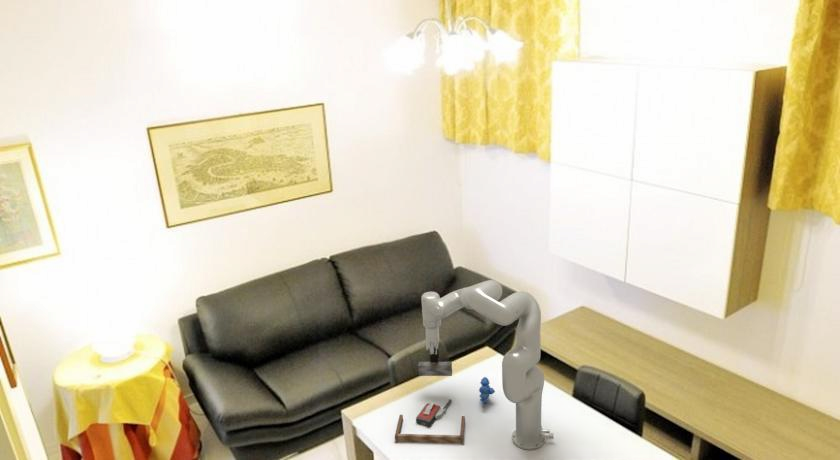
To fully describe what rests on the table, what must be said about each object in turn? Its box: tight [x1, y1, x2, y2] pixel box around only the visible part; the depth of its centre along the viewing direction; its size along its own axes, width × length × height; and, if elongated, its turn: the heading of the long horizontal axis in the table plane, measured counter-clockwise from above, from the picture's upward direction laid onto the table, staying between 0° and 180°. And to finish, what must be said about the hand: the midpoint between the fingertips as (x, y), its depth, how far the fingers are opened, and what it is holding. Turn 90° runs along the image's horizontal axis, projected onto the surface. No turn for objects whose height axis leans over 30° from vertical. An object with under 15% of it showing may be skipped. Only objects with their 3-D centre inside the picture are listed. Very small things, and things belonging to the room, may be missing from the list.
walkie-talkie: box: [415, 399, 452, 428], centre depth 253 cm, size 9×4×20 cm
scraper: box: [417, 350, 453, 377], centre depth 259 cm, size 14×3×13 cm, turn 83°
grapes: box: [478, 376, 496, 405], centre depth 257 cm, size 12×7×12 cm, turn 167°
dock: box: [394, 414, 466, 445], centre depth 242 cm, size 26×14×3 cm, turn 83°
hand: (434, 359), depth 259 cm, fingers closed on scraper, 2 cm apart
